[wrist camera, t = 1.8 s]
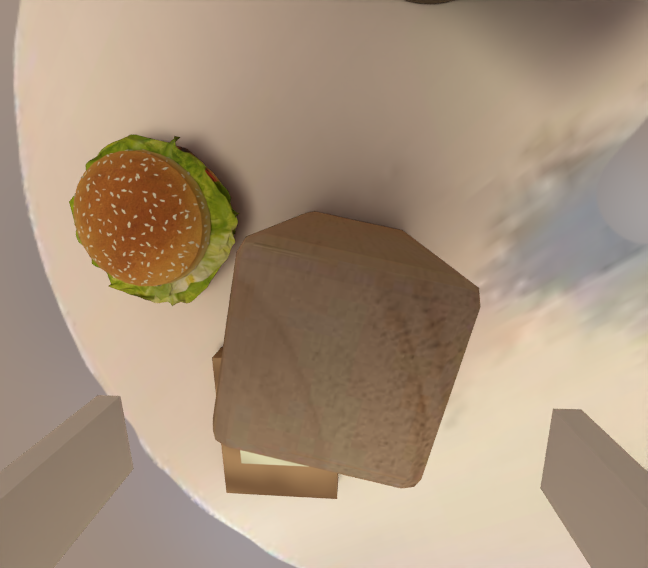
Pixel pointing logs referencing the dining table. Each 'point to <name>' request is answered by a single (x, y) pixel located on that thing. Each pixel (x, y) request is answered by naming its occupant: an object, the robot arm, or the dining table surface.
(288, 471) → the board
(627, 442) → the dining table surface
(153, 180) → the food
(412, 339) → the wooden block
